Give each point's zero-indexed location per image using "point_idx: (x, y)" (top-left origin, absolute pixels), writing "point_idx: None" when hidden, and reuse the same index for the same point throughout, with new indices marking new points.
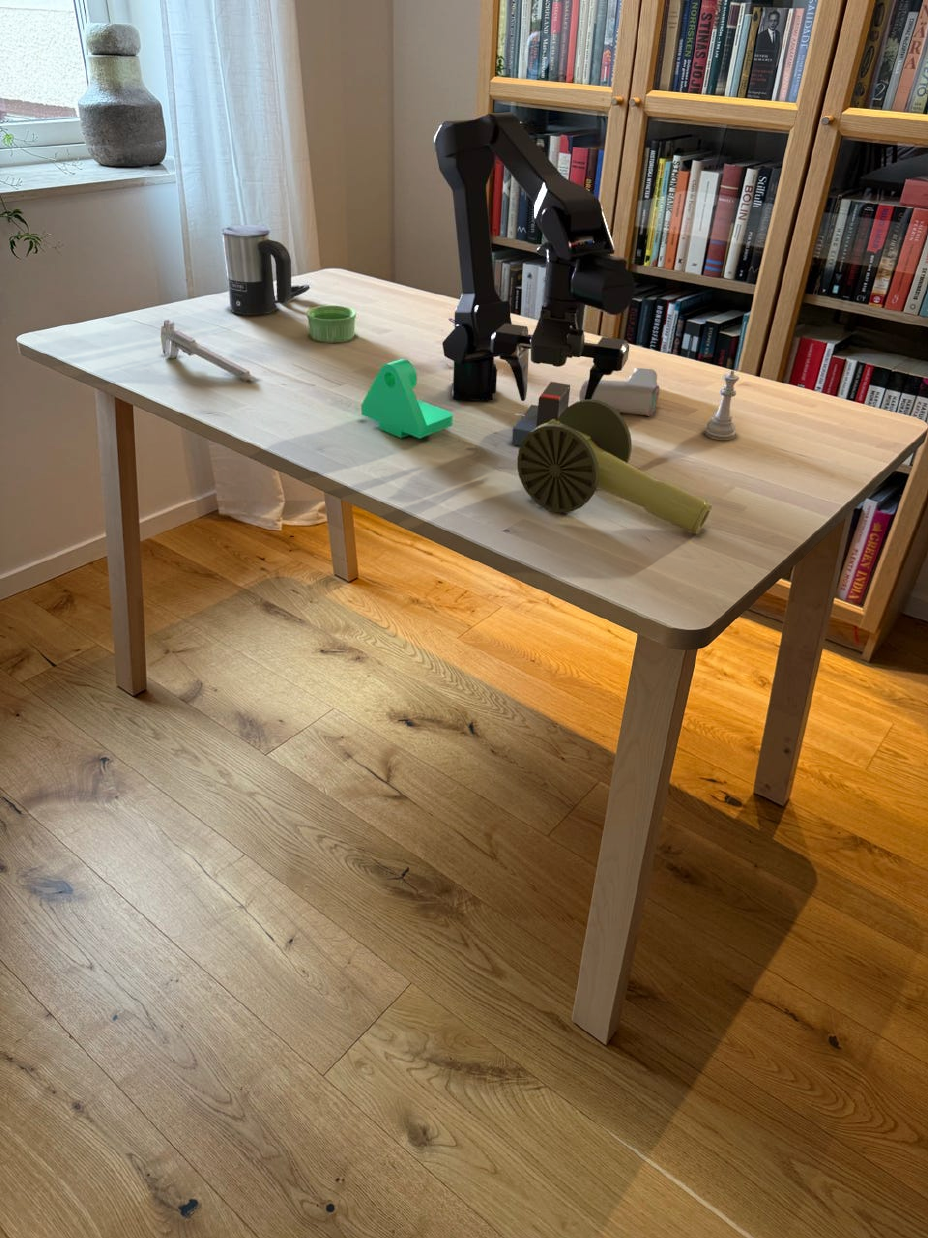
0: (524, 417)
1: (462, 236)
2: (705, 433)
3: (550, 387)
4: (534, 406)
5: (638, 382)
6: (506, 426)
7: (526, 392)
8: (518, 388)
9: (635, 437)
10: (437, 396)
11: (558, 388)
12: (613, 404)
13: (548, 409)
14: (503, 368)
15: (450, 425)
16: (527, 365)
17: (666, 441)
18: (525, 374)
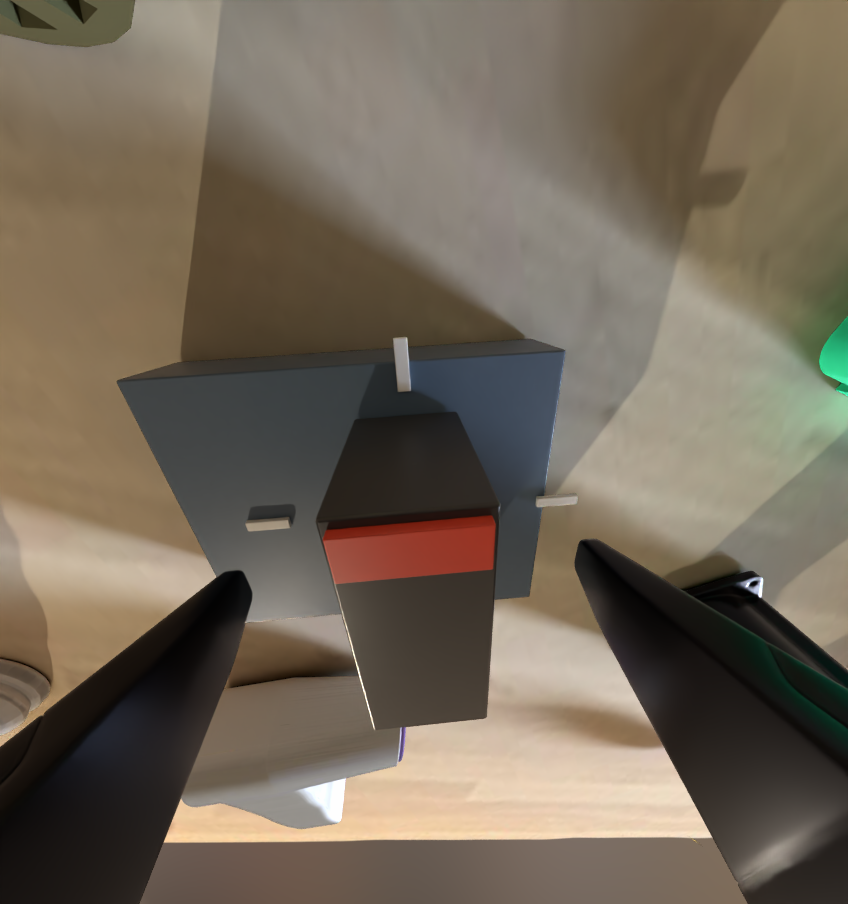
0: (533, 491)
1: None
2: (26, 670)
3: (466, 670)
4: (515, 588)
5: (264, 796)
6: (576, 482)
7: (589, 598)
8: (671, 586)
9: (174, 583)
10: (793, 571)
11: (416, 678)
12: (305, 694)
13: (404, 465)
14: (618, 729)
15: (836, 332)
16: (721, 830)
17: (80, 597)
18: (696, 726)
